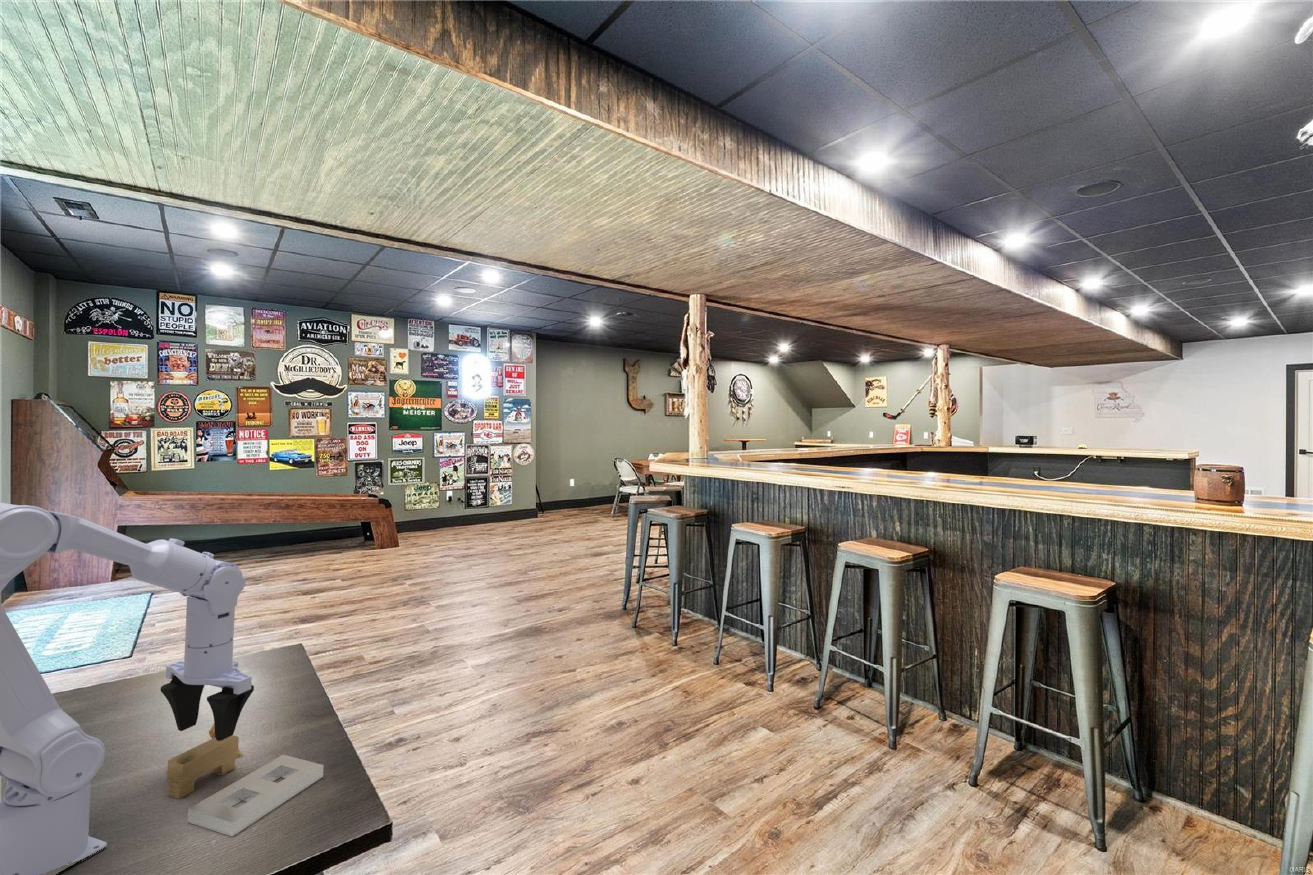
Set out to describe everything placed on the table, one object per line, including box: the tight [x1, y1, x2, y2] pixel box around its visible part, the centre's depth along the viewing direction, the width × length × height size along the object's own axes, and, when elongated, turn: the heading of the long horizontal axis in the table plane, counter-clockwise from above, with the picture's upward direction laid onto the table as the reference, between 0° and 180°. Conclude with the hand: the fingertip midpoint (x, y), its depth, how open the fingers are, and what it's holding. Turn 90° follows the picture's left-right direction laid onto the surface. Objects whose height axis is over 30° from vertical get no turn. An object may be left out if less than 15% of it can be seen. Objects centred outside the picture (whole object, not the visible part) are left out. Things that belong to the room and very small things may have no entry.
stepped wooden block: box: [166, 734, 240, 800], centre depth 86 cm, size 8×3×5 cm, turn 164°
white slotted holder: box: [187, 754, 324, 837], centre depth 82 cm, size 14×8×2 cm, turn 164°
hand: (205, 732), depth 86 cm, fingers open, 7 cm apart
